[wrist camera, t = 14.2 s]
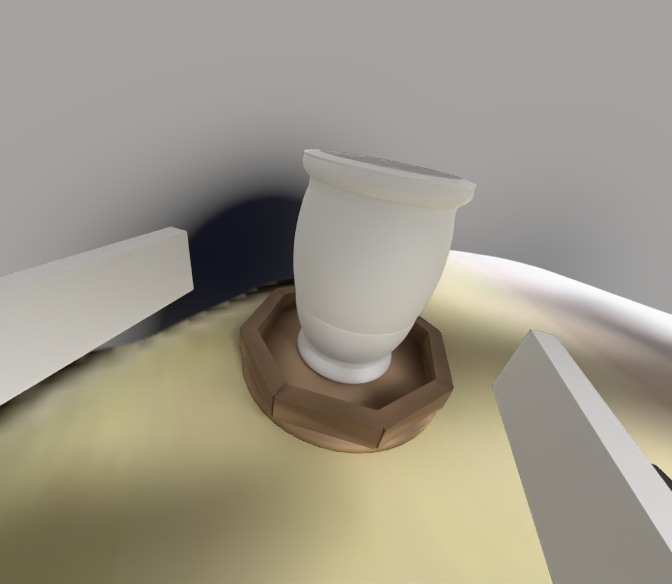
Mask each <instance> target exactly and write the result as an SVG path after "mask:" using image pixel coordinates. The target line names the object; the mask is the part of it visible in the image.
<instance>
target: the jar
mask: <svg viewBox="0 0 672 584" xmlns="http://www.w3.org/2000/svg"><path fill="white" fill-rule="evenodd" d="M304 152H305V155H304V157H303V166H304V168H305V170H306V171H307V173H308V174H309V175H310V184H309V187H308V189H307V191H306V194H305V196H304V199H303V202H302V206H301V209H300V214H299V218H298V223H297V228H296V234H295V243H294V280H295V289H296V306H297V312H298V317H299V321H300V324H301V326H302V328H301V330H300V332H299V334H298V340H297V344H298V349H299V352H300V355H301V356H302V358H303V360H304V361H305V362H306V364H307V365H308V366H309V367H310V368H312V369H313V370H314V371H315V372H317V373H318V374H320V375H322V376H323V377H326V378H328V379H330V380H333V381H336V382H340V383H346V384H361V383H367V382H370V381H373V380H375V379H377V378H379V377H380V376H382V375H383V374H384V373H385V372H386V370H387V369H388V367H389V365H390V362H391V356H392V354H391V352H392V351H393V350H394V349H395V348H396V347H397V346H398V345H399V344H400V343H401V342H402V341H403V340H404V338H405V337H406V336H407V334H408V333H409V331H410V330H411V328H412V326H413V325H414V323H415V320H416V319H417V317H418V316H419V315H420V313H421V312H422V311H423V309H424V308H425V306H426V305H427V303H428V301H429V300H430V298H431V296H432V294H433V292H434V290H435V288H436V286H437V284H438V282H439V280H440V277H441V275H442V272H443V269H444V266H445V263H446V260H447V257H448V253H449V250H450V246H451V241H452V237H453V230H454V219H455V213H456V211H457V209H458V207H460V206H462V205H465V204H467V203H468V202H469V201H470V200H471V199H472V198H473V196H474V193H475V187H476V185H475V184H473V183H471V182H469V181H467V180H465V179H463V178H460V177H457V176H454V175H450V174H447V173H443V172H439V171H435V170H431V169H427V168H422V167H418V166H413V165H409V164H404V163H399V162H395V161H390V160H385V159H379V158H374V157H369V156H363V155H358V154H352V153H346V152H339V151H332V150H321V149H315V150H304Z"/></svg>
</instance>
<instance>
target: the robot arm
mask: <svg viewBox="0 0 672 584" xmlns="http://www.w3.org/2000/svg"><path fill="white" fill-rule="evenodd" d="M193 289H194V288H193V280H192V272H191V264H190V255H189V247H188V238H187V231H184V230H180V229H177V228H173V227H168V228H165V229H161V230H158V231H155V232H151V233H148V234H144V235H141V236H137V237H134V238H130V239H127V240H124V241H120V242H117V243H113V244H110V245H107V246H103V247H100V248H97V249H93V250H90V251H86V252H83V253H79V254H76V255H73V256H69V257H66V258H62V259H59V260H55V261H52V262H49V263H45V264H42V265H38V266H35V267H32V268H28V269H25V270H21V271H18V272H15V273H11V274H8V275H4V276H1V277H0V405H2V404H3V403H5V402H7V401H8V400H10V399H12V398H13V397H15V396H17V395H18V394H20V393H22V392H23V391H25V390H27V389H28V388H30V387H32V386H33V385H35V384H37V383H38V382H40V381H42V380H43V379H45V378H47V377H48V376H50V375H52V374H53V373H55V372H57V371H58V370H60V369H62V368H63V367H65V366H67V365H68V364H70V363H72V362H73V361H75V360H77V359H78V358H80V357H82V356H83V355H85V354H87V353H88V352H90V351H92V350H93V349H95V348H97V347H98V346H100V345H101V344H103V343H105V342H107V341H108V340H110V339H112V338H113V337H115V336H117V335H118V334H120V333H122V332H123V331H125V330H127V329H128V328H130V327H132V326H133V325H135V324H137V323H138V322H140V321H142V320H143V319H145V318H147V317H148V316H150V315H152V314H153V313H155V312H157V311H158V310H160V309H161V308H163V307H165V306H167V305H168V304H170V303H172V302H173V301H175V300H177V299H178V298H180V297H182V296H183V295H185V294H187V293H188V292H190V291H192V290H193ZM492 388H493V391H494V394H495V398H496V401H497V404H498V407H499V411H500V414H501V417H502V420H503V424H504V427H505V430H506V433H507V437H508V440H509V443H510V446H511V450H512V453H513V456H514V459H515V462H516V466H517V469H518V472H519V475H520V479H521V482H522V485H523V488H524V492H525V495H526V498H527V501H528V505H529V508H530V511H531V514H532V518H533V521H534V524H535V527H536V531H537V534H538V537H539V540H540V543H541V547H542V550H543V553H544V556H545V560H546V563H547V566H548V569H549V573H550V576H551V579H552V582H553V584H672V480H671V479H670V478H669V477H668V476H667V475H666V474H665V473H664V472H663V471H662V470H661V469H659V468H658V467H657V466H656V465H654V464H651V463H650V462H649V460H648V459H647V458H646V456H645V455H644V454H643V452H642V451H641V450H640V448H639V447H638V446H637V444H636V443H635V442H634V440H633V439H632V437H631V436H630V435H629V433H628V432H627V431H626V429H625V428H624V427H623V425H622V424H621V423H620V421H619V420H618V419H617V417H616V416H615V415H614V413H613V412H612V411H611V409H610V408H609V407H608V405H607V404H606V403H605V401H604V400H603V399H602V397H601V396H600V395H599V393H598V392H597V390H596V389H595V388H594V386H593V385H592V384H591V382H590V381H589V380H588V378H587V377H586V376H585V374H584V373H583V372H582V370H581V369H580V368H579V366H578V365H577V364H576V362H575V361H574V360H573V358H572V357H571V356H570V354H569V353H568V352H567V350H566V349H565V348H564V346H563V345H562V343H561V342H560V341H559V339H558V338H557V337H556V336H554V335H551V334H547V333H544V332H540V331H537V330H533V329H530V331H529V332H528V333H527V335H526V336H525V338H524V339H523V341H522V342H521V344H520V345H519V347H518V348H517V349H516V351H515V352H514V354H513V355H512V357H511V358H510V360H509V361H508V362H507V364H506V365H505V367H504V368H503V370H502V371H501V373H500V374H499V375H498V377H497V378H496V380H495V381H494V383H493V384H492Z"/></svg>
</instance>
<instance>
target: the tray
mask: <svg viewBox="0 0 672 584" xmlns="http://www.w3.org/2000/svg"><path fill="white" fill-rule="evenodd" d="M301 328H302V326H301V324H300V321H299V317H298V312H297V306H296V289H295V286H290V287H283V288H277V289H274V291H273V292H272V293H271V294H270V295H269V296H268V297H267V299H266V300H265V301H264V302H263V303H262V304H261V305H260V306H259V308H258V309H257V310H256V311H255V312H254V313H253V314H252V316H251V317H250V318H249V319H248V320H247V321H246V322H245V323H244V325H243V326H242V327H241V328H240V350H241V352H242V354H243V369H244V377H245V380H246V383H247V386H248V389H249V391H250V393H251V395H252V397H253V399H254V400H255V402H256V403H257V404H258V406H259V407H260V408H261V410H262V411H263V412H264V413H265V414H266V415H267V416H268V417H269V418H270V419H271V420H272V421H273V422H274V423H275V424H277V425H278V426H279V427H281V428H282V429H283V430H285V431H286V432H288V433H289V434H291V435H293V436H295V437H297V438H299V439H300V440H302V441H305V442H307V443H310V444H312V445H315V446H318V447H321V448H325V449H329V450H333V451H337V452H347V453H373V452H379V451H384V450H389V449H391V448H394V447H397V446H400V445H402V444H404V443H406V442H408V441H410V440H411V439H413V438H415V437H416V436H417V435H418V434H419V433H421V432H422V431H423V430H424V429H425V428H426V426H427V425H428V424H429V423H430V421H431V420H432V418H433V417H434V415H435V413H436V411H437V410H439V409H441V408H442V407H443V406H444V404H445V402H446V401H447V399H448V397H449V396H450V394H451V392H452V390H453V388H454V387H453V383H452V378H451V374H450V370H449V366H448V361H447V357H446V353H445V348H444V344H443V340H442V335H441V332H440V331H439V330H438V329H436V328H435V327H434V326H432V325H431V324H430V323H428V322H427V321H426V320H424V319H423V318H422V317H420V316H418V317H417V319H416V320H415V323H414V325H413V326H412V328H411V330H410V331H409V333H408V334H407V336H406V337H405V338H404V340H403V341H402V342H401V343H400V344H399V345H398V346H397V347H396V348H395V349H394V350H393V351H392V352H391V354H392V356H391V362H390V365H389V367H388V369H387V370H386V372H385V373H384V374H383V375H382V376H380V377H379V378H377V379H375V380H373V381H370V382H367V383H361V384H346V383H340V382H336V381H333V380H330V379H328V378H326V377H323V376H322V375H320V374H318V373H317V372H315V371H314V370H313V369H312V368H310V367H309V366H308V365H307V364H306V362H305V361H304V360H303V358H302V356H301V355H300V352H299V349H298V344H297V340H298V334H299V332H300V330H301Z"/></svg>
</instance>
